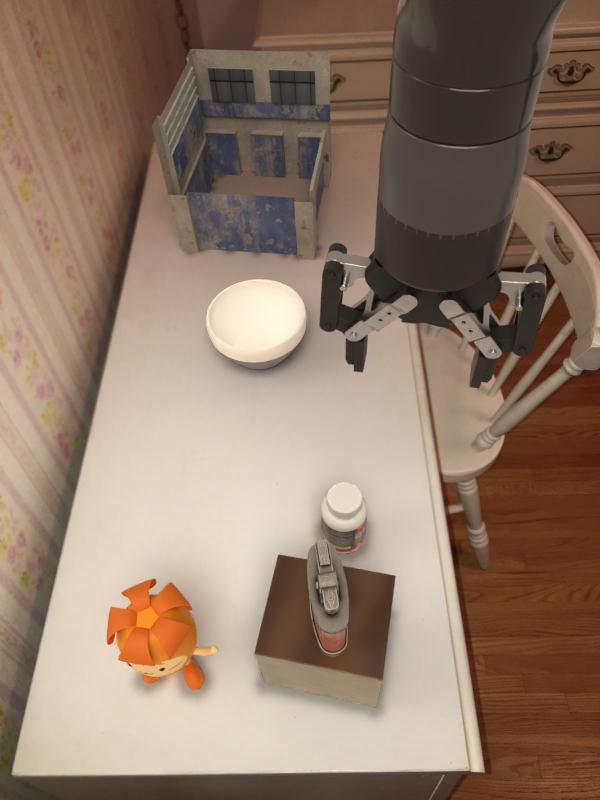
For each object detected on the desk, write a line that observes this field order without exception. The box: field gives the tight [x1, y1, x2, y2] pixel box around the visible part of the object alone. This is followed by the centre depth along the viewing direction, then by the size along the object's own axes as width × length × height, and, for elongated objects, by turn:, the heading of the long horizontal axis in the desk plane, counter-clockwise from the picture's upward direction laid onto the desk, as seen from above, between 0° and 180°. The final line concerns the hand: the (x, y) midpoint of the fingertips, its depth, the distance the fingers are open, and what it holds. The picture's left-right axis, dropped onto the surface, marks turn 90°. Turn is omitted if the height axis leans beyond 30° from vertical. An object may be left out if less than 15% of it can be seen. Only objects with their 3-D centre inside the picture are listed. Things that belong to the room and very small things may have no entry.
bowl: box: [205, 278, 308, 370], centre depth 95 cm, size 14×14×8 cm
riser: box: [254, 553, 397, 708], centre depth 67 cm, size 12×10×12 cm
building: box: [151, 48, 332, 261], centre depth 108 cm, size 23×24×23 cm
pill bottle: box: [320, 481, 368, 555], centre depth 76 cm, size 5×5×10 cm
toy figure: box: [106, 578, 219, 691], centre depth 66 cm, size 12×8×15 cm, turn 81°
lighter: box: [307, 539, 349, 656], centre depth 58 cm, size 8×3×10 cm, turn 8°
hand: (416, 371), depth 48 cm, fingers open, 8 cm apart
